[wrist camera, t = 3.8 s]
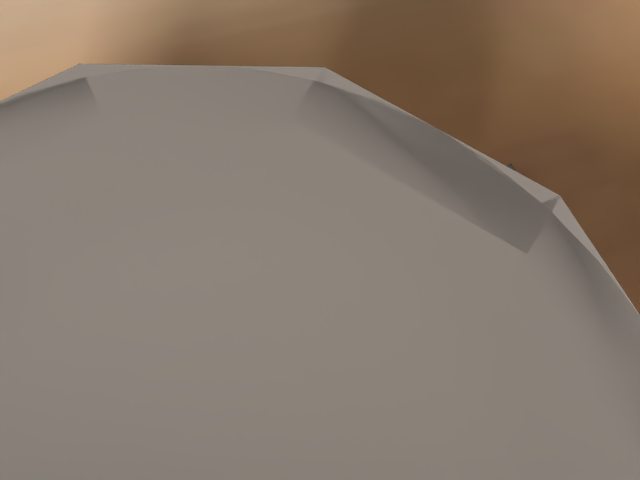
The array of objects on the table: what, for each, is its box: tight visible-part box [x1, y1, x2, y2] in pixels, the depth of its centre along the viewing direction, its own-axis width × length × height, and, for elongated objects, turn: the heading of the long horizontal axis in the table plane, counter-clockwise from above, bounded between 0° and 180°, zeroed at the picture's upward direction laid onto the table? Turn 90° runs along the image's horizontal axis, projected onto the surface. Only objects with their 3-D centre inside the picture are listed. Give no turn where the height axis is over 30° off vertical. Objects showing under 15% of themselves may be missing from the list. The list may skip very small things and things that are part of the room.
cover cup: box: [0, 64, 640, 480], centre depth 9 cm, size 7×7×12 cm
